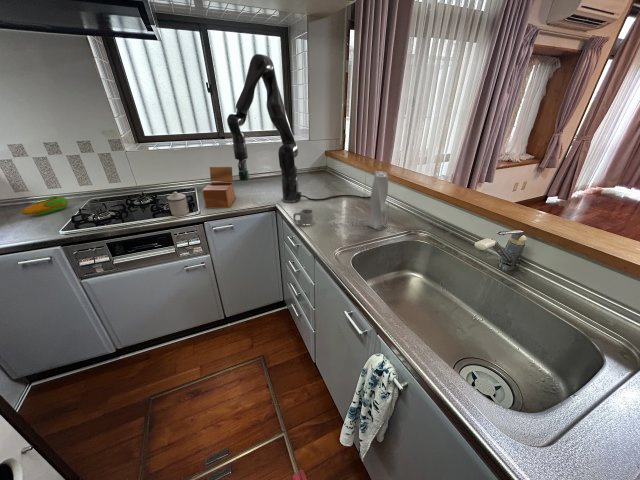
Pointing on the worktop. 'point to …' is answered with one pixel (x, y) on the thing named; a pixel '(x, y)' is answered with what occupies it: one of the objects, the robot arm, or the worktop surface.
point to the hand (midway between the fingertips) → (244, 178)
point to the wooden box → (218, 195)
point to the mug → (305, 217)
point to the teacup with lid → (178, 204)
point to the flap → (221, 174)
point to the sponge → (245, 175)
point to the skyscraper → (379, 201)
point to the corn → (46, 206)
